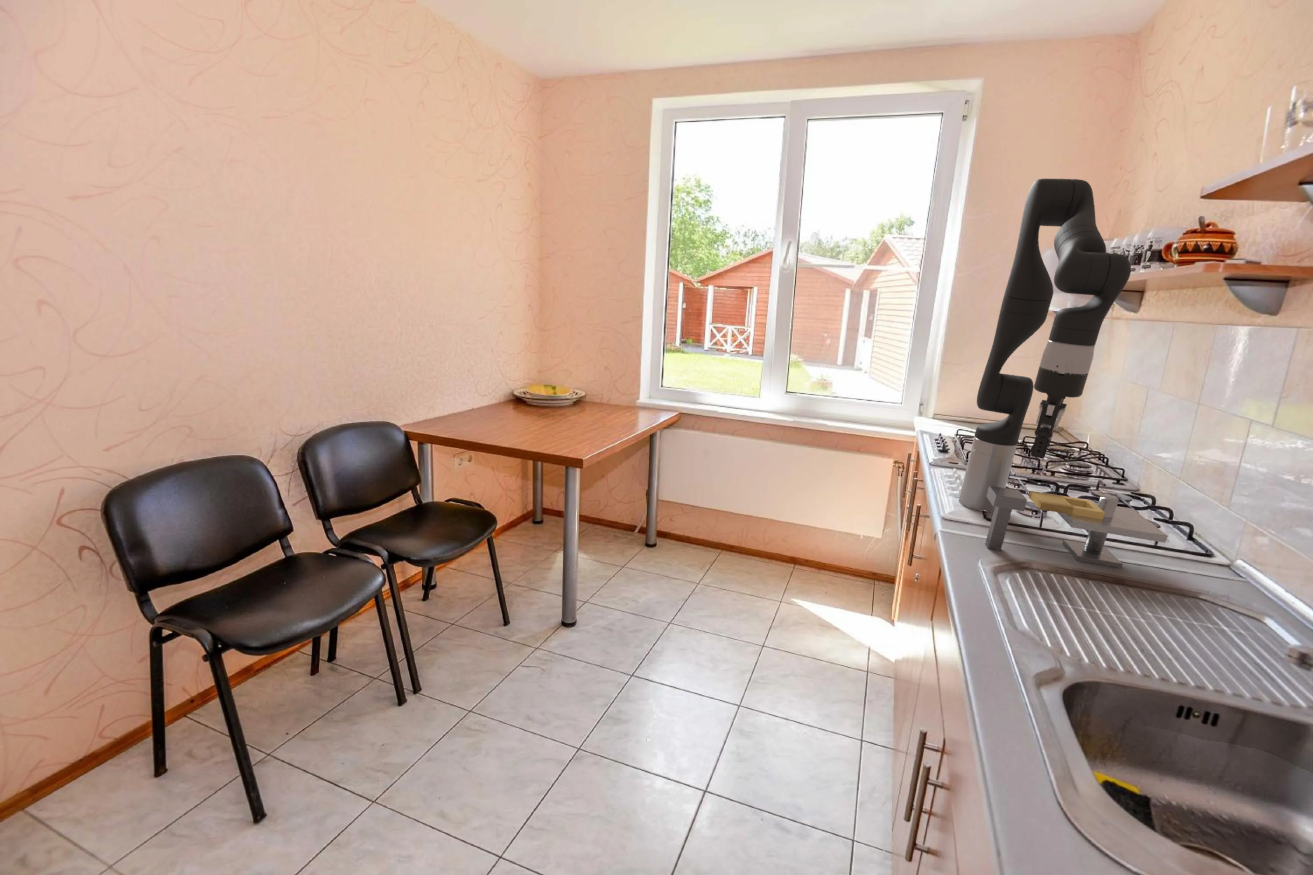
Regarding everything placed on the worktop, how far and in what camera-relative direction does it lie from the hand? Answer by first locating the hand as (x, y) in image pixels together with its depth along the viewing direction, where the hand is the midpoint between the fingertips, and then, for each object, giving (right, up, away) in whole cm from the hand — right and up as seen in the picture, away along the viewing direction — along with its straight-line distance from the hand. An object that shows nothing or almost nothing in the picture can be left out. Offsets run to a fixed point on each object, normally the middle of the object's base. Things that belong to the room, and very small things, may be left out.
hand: (1039, 451), depth 111 cm
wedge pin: (-2, -21, +12) cm, 24 cm away
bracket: (+12, -12, +11) cm, 20 cm away
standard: (+19, -22, +12) cm, 31 cm away
